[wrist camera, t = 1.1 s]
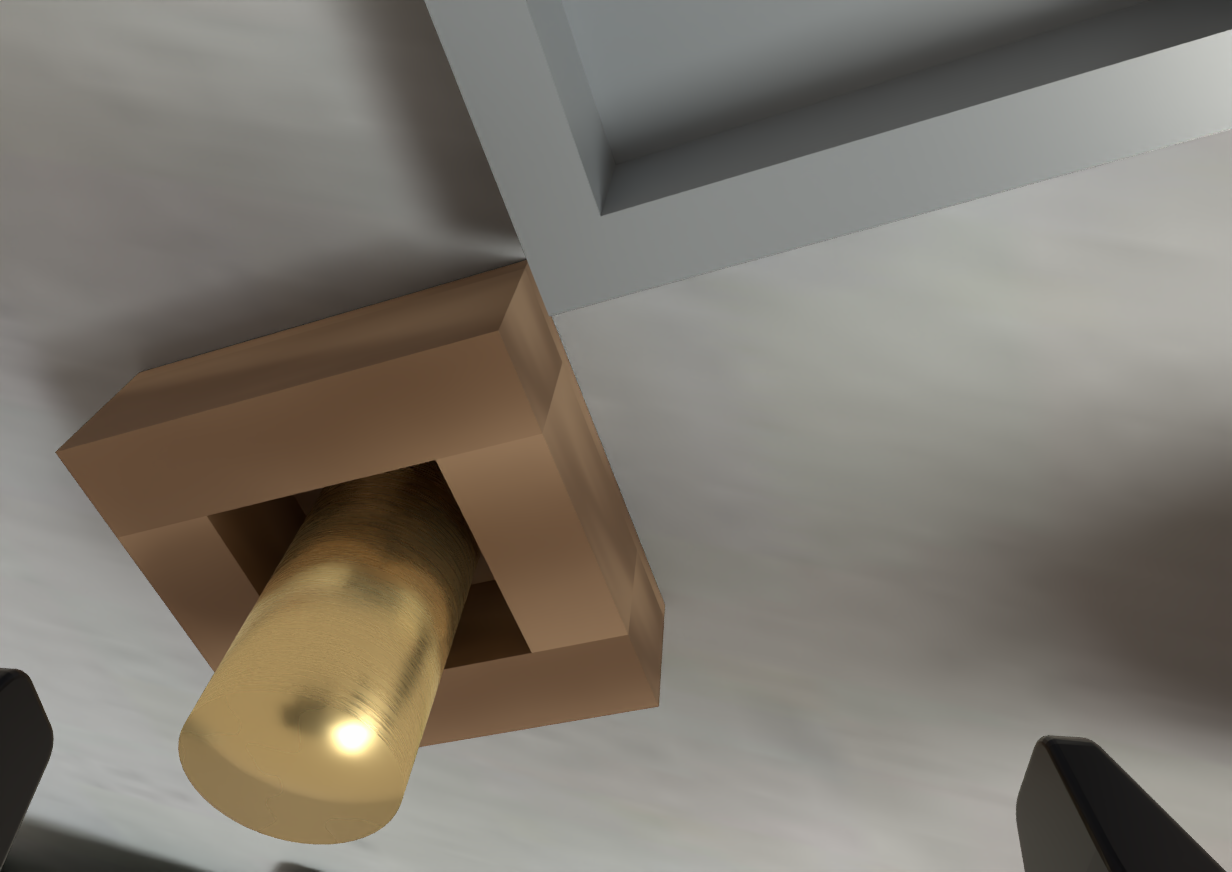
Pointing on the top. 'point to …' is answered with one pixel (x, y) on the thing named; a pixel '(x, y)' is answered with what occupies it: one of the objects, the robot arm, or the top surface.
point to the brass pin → (337, 663)
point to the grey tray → (804, 116)
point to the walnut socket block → (384, 441)
